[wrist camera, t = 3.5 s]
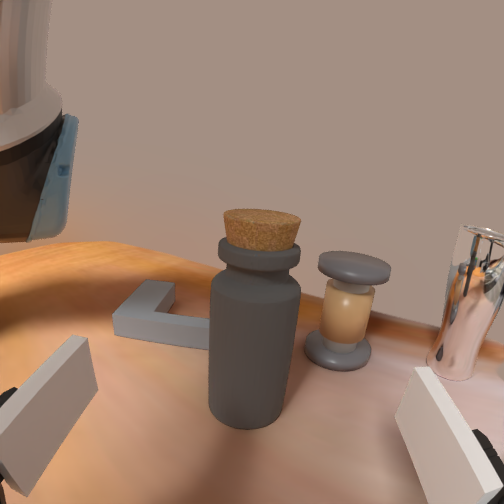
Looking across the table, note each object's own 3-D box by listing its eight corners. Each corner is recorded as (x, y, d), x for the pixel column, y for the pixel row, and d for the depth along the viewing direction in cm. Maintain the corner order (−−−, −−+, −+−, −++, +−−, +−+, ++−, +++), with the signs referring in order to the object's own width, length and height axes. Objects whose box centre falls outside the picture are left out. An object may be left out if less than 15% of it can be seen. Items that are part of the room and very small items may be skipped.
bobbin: (307, 370, 29) (325, 270, 26) (301, 334, 36) (314, 248, 33) (376, 371, 29) (402, 276, 26) (360, 336, 35) (378, 254, 33)
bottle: (205, 383, 26) (211, 205, 22) (272, 380, 27) (293, 209, 23) (211, 432, 20) (217, 221, 16) (290, 426, 22) (326, 226, 17)
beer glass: (457, 348, 32) (491, 228, 28) (486, 379, 26) (532, 244, 21) (413, 351, 32) (446, 220, 28) (439, 387, 25) (487, 237, 21)
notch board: (114, 334, 31) (111, 314, 31) (146, 296, 41) (146, 279, 41) (275, 356, 31) (278, 335, 30) (275, 310, 41) (277, 292, 40)
